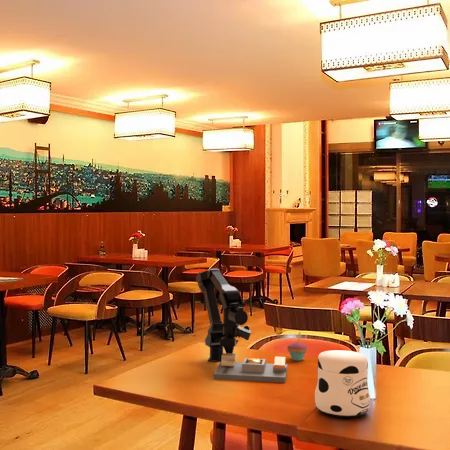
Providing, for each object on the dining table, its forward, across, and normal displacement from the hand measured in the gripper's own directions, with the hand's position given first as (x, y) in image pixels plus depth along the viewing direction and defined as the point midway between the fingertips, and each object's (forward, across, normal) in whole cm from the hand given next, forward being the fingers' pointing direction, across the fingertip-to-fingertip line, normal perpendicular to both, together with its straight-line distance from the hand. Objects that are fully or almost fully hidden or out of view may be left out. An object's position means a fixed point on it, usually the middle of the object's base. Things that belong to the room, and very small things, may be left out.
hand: (230, 359), depth 237 cm
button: (+1, -8, -10) cm, 13 cm away
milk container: (+4, -45, -42) cm, 62 cm away
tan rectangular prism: (+2, -4, 0) cm, 5 cm away
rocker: (-1, -8, -20) cm, 22 cm away
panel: (+4, -8, -9) cm, 13 cm away
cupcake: (+4, +17, -26) cm, 32 cm away
